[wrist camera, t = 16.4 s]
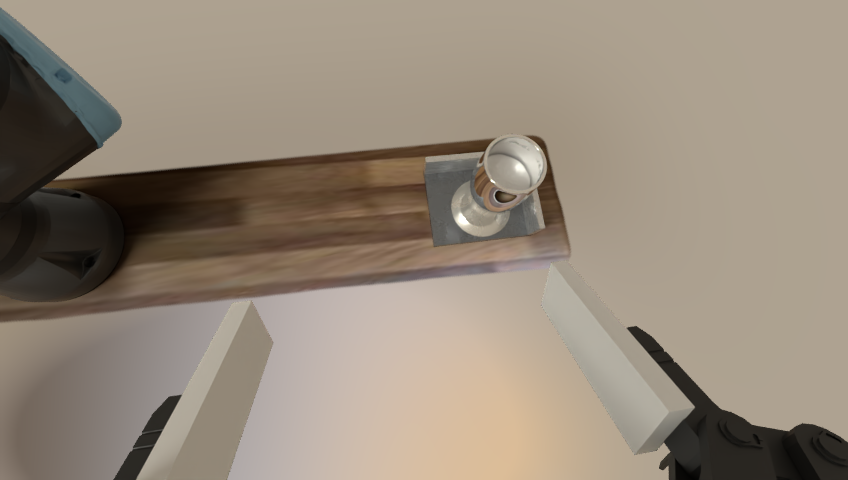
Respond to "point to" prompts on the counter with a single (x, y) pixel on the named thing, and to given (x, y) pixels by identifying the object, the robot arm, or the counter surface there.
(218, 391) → the robot arm
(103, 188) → the counter surface
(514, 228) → the tray
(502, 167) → the beer glass
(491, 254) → the counter surface
